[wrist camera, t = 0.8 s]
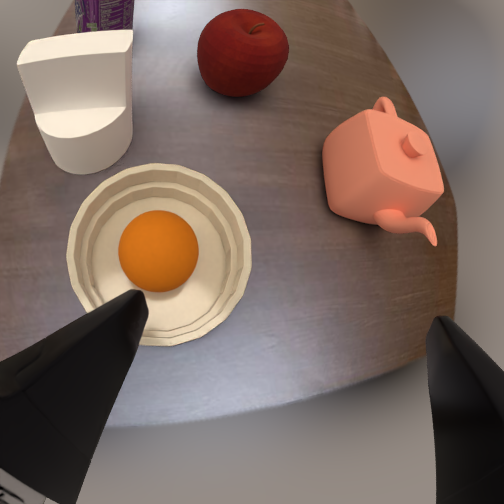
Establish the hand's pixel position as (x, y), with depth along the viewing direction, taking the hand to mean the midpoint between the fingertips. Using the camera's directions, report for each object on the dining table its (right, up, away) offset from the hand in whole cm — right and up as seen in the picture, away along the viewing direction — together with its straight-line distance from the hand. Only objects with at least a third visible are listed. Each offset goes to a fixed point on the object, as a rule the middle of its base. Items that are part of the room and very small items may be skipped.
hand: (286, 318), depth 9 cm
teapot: (+11, +9, +25) cm, 29 cm away
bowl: (-9, +1, +17) cm, 19 cm away
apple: (-4, +22, +24) cm, 33 cm away
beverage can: (-20, +28, +21) cm, 40 cm away
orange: (-9, +1, +16) cm, 18 cm away
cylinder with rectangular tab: (-17, +13, +18) cm, 28 cm away
